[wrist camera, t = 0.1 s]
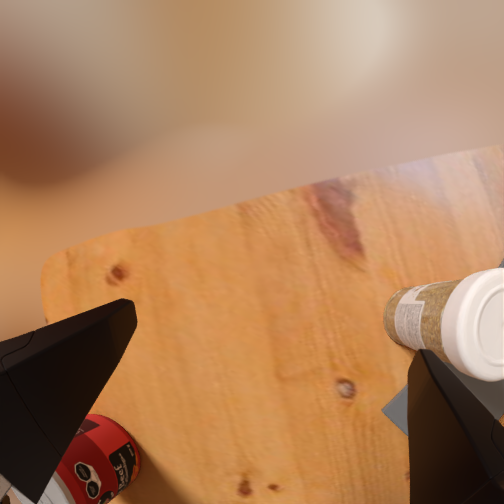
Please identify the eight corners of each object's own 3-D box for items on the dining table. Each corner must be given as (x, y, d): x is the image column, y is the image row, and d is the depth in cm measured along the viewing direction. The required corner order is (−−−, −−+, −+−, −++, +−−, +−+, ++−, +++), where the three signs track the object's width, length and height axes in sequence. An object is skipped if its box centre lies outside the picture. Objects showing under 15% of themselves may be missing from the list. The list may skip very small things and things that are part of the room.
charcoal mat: (445, 471, 19) (448, 473, 18) (381, 410, 21) (382, 412, 21) (561, 317, 19) (565, 317, 18) (511, 245, 21) (515, 243, 21)
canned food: (128, 494, 23) (65, 546, 13) (70, 445, 25) (-3, 477, 14) (155, 449, 24) (85, 504, 13) (90, 396, 25) (5, 423, 15)
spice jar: (434, 286, 22) (542, 265, 9) (433, 344, 21) (538, 374, 8) (381, 287, 23) (459, 267, 10) (379, 347, 22) (454, 391, 9)
